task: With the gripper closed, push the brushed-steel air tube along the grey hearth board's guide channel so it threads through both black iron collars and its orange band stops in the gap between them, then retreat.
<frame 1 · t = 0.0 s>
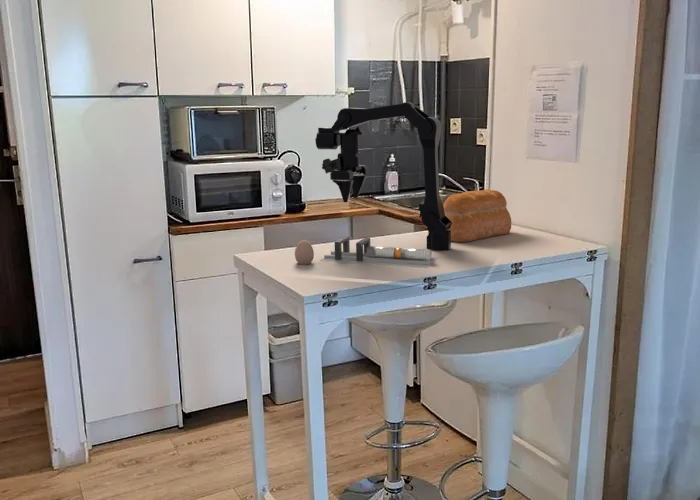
hand: (350, 200, 206), 15 cm above the table, fingers open, 9 cm apart
bread: (474, 236, 222), on the table
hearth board: (378, 261, 188), on the table
air tube: (398, 260, 186), point 1 cm above the table, touching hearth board
collar 1: (363, 258, 189), resting on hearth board
egg: (304, 266, 185), on the table
collar 2: (342, 256, 192), resting on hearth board
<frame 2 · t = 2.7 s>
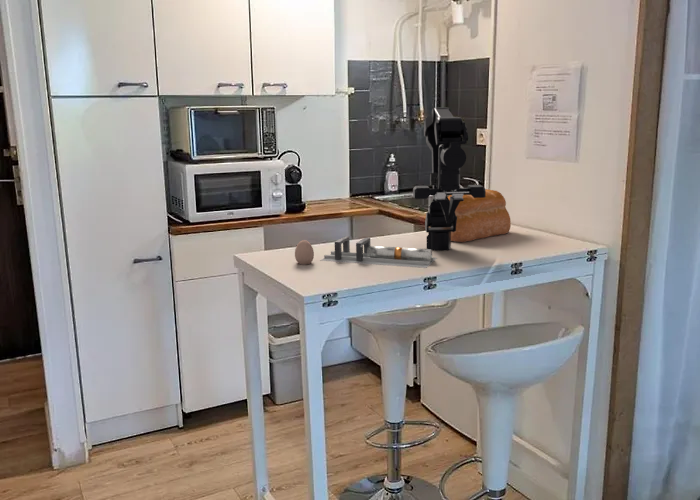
hand: (448, 223, 179), 12 cm above the table, fingers closed
air tube: (398, 260, 186), point 1 cm above the table, tilted 19°, touching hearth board
everything else where it was.
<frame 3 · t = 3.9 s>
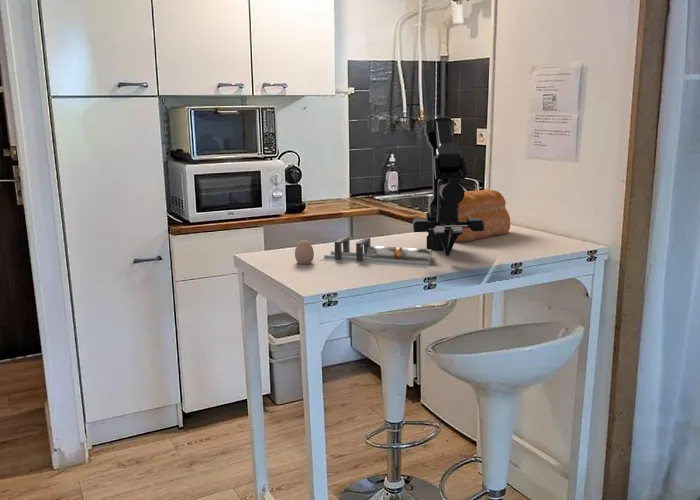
hand: (447, 255, 181), 3 cm above the table, fingers closed
nothing on the table moved.
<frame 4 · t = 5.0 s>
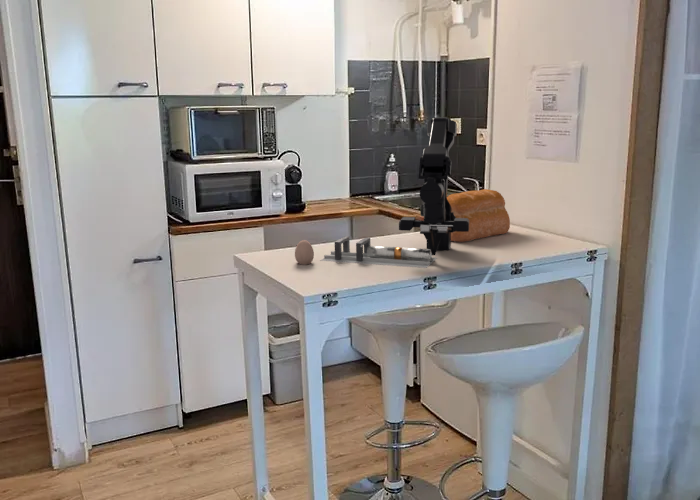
hand: (433, 255, 182), 3 cm above the table, fingers closed
air tube: (398, 260, 186), point 1 cm above the table, tilted 19°, touching gripper
everything else where it was.
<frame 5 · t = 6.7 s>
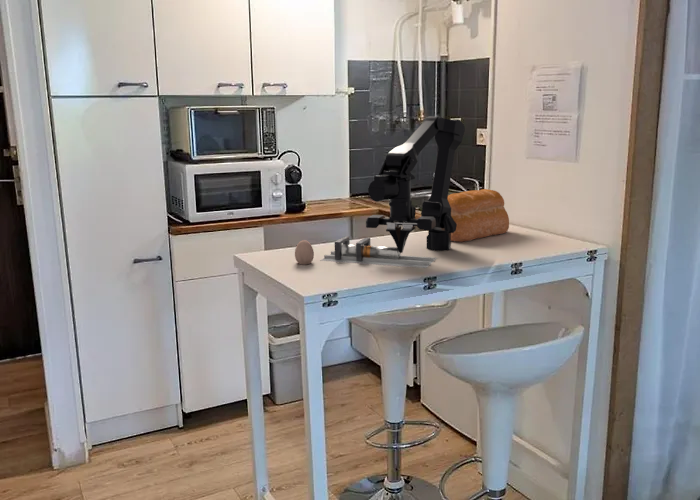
hand: (401, 252, 185), 3 cm above the table, fingers closed
air tube: (367, 258, 189), point 1 cm above the table, tilted 23°, touching gripper
everything else where it was.
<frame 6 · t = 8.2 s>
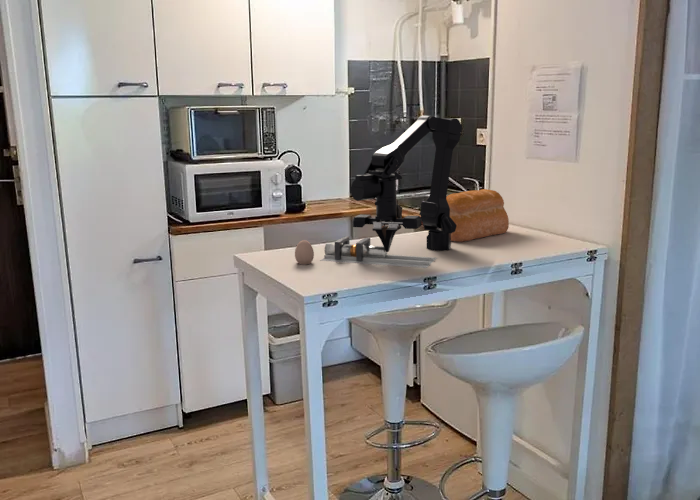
hand: (387, 251, 186), 3 cm above the table, fingers closed
air tube: (354, 257, 190), point 1 cm above the table, tilted 23°, touching gripper, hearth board
everything else where it was.
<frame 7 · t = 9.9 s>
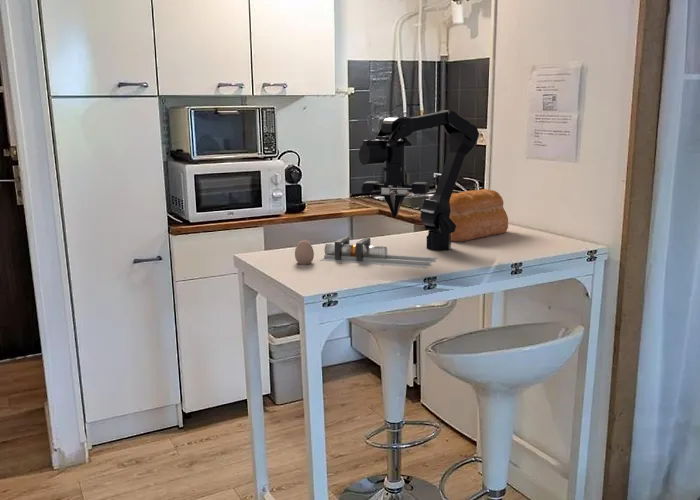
hand: (395, 217, 189), 12 cm above the table, fingers closed
air tube: (354, 257, 190), point 1 cm above the table, tilted 23°, touching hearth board
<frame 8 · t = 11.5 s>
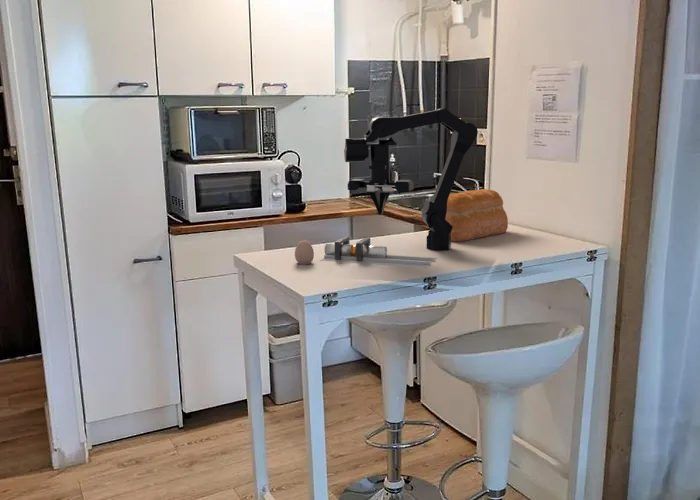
hand: (380, 214, 195), 12 cm above the table, fingers closed
at the end: air tube 0.9 cm from the target spot, point 0.9 cm above the table; air tube moved 13.1 cm from its start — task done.
